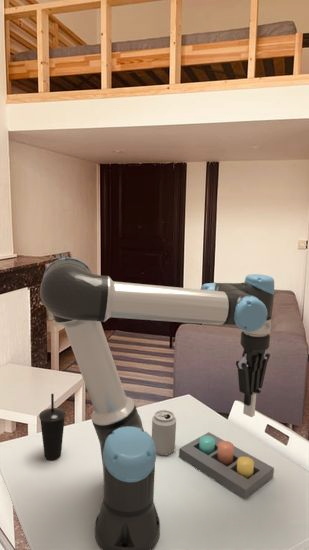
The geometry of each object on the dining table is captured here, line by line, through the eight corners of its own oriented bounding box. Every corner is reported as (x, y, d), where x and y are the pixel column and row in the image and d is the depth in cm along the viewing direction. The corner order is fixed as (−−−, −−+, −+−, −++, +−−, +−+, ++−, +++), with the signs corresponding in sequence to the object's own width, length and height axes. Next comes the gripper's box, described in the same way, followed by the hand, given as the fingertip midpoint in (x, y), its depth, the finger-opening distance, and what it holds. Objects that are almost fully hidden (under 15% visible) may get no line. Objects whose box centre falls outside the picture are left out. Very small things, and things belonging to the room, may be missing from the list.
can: (172, 458, 123) (174, 422, 121) (148, 454, 124) (150, 418, 122) (176, 444, 130) (178, 410, 128) (153, 441, 131) (155, 406, 129)
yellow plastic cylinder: (246, 485, 111) (247, 468, 110) (232, 476, 114) (234, 460, 114) (255, 478, 114) (257, 462, 113) (242, 470, 118) (243, 454, 117)
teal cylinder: (207, 460, 121) (208, 445, 120) (195, 453, 124) (196, 439, 124) (216, 454, 124) (217, 440, 123) (205, 448, 128) (206, 433, 127)
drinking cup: (46, 467, 116) (46, 402, 113) (35, 454, 122) (34, 392, 119) (70, 457, 121) (70, 395, 118) (58, 445, 127) (57, 386, 124)
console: (244, 500, 106) (245, 489, 106) (178, 457, 123) (179, 448, 123) (273, 477, 116) (273, 467, 115) (208, 440, 133) (208, 432, 132)
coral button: (226, 467, 116) (227, 452, 115) (213, 460, 119) (214, 444, 118) (235, 461, 119) (237, 445, 118) (223, 454, 122) (224, 439, 121)
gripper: (253, 341, 100) (246, 428, 104) (281, 331, 109) (273, 412, 113) (229, 333, 106) (223, 416, 110) (257, 325, 115) (250, 402, 118)
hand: (248, 414), depth 111 cm, fingers closed
